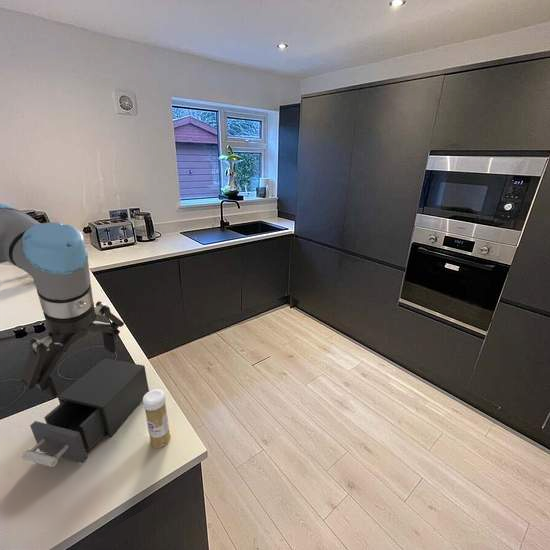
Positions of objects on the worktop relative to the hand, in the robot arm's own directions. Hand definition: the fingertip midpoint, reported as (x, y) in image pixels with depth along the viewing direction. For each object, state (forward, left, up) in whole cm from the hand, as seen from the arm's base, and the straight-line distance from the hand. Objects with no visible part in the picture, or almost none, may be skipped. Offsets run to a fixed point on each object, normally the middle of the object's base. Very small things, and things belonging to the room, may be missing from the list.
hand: (82, 369), depth 64 cm
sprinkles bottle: (+17, 0, -18) cm, 24 cm away
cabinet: (-1, +5, -18) cm, 18 cm away
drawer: (-1, -4, -17) cm, 17 cm away
